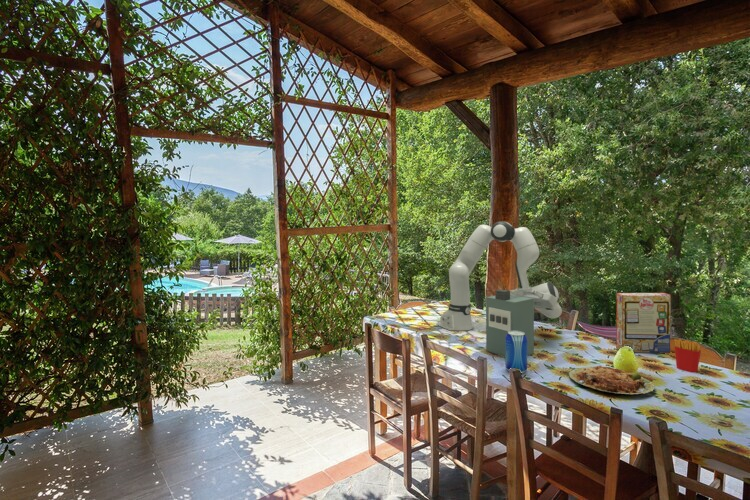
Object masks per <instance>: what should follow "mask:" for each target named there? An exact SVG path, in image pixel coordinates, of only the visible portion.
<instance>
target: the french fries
mask: <svg viewBox="0 0 750 500" xmlns="http://www.w3.org/2000/svg"><path fill="white" fill-rule="evenodd" d="M673 341H674V344H675V346H674V353H675V354H674V355H675V364H676V369H678V370H681V371H685V372H689V373H695V374H696V373H698V371H699V365H700V358H701V353H702V352H701V351H702V350H701V349H700V348H701V343H700V344H699V343H697V342H696V341H690V340H686V339H685V340H682V339H681V338H680V339H675V338H674V340H673Z"/></svg>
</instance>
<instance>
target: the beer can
mask: <svg viewBox="0 0 750 500" xmlns="http://www.w3.org/2000/svg"><path fill="white" fill-rule="evenodd" d="M504 358H505V359H504V361H505V363H504V364H505V366H504V367H505V369H506V370H507V372H509V369H510V368H518V369H520V370H521V372H522V374H521V375H523V374H525V373H526V372H527V370H528V356H527V338H526V336H525V333H524V332H521V331H509V332H508V334H507V336H506V337H505V357H504Z"/></svg>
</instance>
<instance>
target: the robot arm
mask: <svg viewBox="0 0 750 500" xmlns="http://www.w3.org/2000/svg"><path fill="white" fill-rule="evenodd" d="M533 235H534V234H532V232H531V231H530V230H529V228H528V227H526V226H525V227H524V226H520V227H518V228H517V227H516V228H514V227H513V225H512V224H511V223H509V222H508V221H503V220H501V221H497V222H495V223H493V225H492V226H490V225H487V224H480V225H478V226H477V227H476V228H475V229H474V231H473V232H472V234H471V235H470V236H469V238H468V240H466V243H465V244H464V245H463V247H462V249H461V251H460V253H459V255H458V256H457V258H456V260H455V261H454V263H453V264H452V265H450V267H449V269H448V278H449V279H448V280H449V281H448V282H449V289H450V303H447V307H448V309H447V310H445V311H444V312H443V313H442V314H441V315H440V320H439V321H437V322H436V324H437V325H436V326H438V325H439V326H438V327H440V328H443V329H445V330H448V331H463V332H464V331H470V330H473V329H474V327H473V322H472V315H471V310H472V309H471V308H472V305H471V289H470V278H469V277H470V275H471V273H472V271H473V270H474V268H475V267H476V266H477V263H478V262H479V260H480V259H481V257H482V256H483V254H484V252H485V251H486V249H487V247H488V246H489V244H490V243H491V242H492V241H494V240H495V241H498V242H502V243H504V242H509V241H510V242H511V244H512V245H513V247H514V249H515V251H516V255H517V260H516V261H515V263H514V264H515V265H514V266H515V271H516V277H517V280H518V285H519V287H516V288H515V289H521V288H526V287H527V288H532V294H531V295H526V296H522V297H528V298H534V310H537V311H538V312H540V313H541V314H542V315H544V316H545V317H547V318H549V319H557V318H559V317H560V316H561V315H562V314H563V309H562V307H561V306H560V303H559V300H560V293H559V289H558V288H557V286H556V285H555V284H553V283H552V282H545V283H540V284H538V285H535V286H531V287H530V283H529V279H528V274H527V271H528V269H529V267H530V266H532V265H533V264H534V263H535V262H536V261H537V260H538V258H539V256H540V248H539V245H538V243H537V241H536V239H535V237H534V236H533Z"/></svg>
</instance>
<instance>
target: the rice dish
mask: <svg viewBox="0 0 750 500" xmlns="http://www.w3.org/2000/svg"><path fill="white" fill-rule="evenodd" d="M568 376H569V378H570V379H571V380H572V381H574V382H576V383H578V384H580V385H583V386H585V387H588V388H589V389H594V390H597V391H601V392H604V393H605V392H606V393H610V394H616V395H617V394H619V395H620V394H622V395H623V394H624V395H640V394H641V395H642V394H644V395H645V394H648V393H651V392H653V391H654V390H655V389H656V388H655V384H654V383H653V382H652V381H650V379H647V378H645V377H643V376H641V374H640V373H637V372H629V371H625V370H622V369H621V368H613V367H609V366H602V365H597V366H588V367H578V368H577V367H576V368H574V369H571V370H568ZM581 381H582V382H581ZM642 390H643V391H642Z"/></svg>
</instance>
